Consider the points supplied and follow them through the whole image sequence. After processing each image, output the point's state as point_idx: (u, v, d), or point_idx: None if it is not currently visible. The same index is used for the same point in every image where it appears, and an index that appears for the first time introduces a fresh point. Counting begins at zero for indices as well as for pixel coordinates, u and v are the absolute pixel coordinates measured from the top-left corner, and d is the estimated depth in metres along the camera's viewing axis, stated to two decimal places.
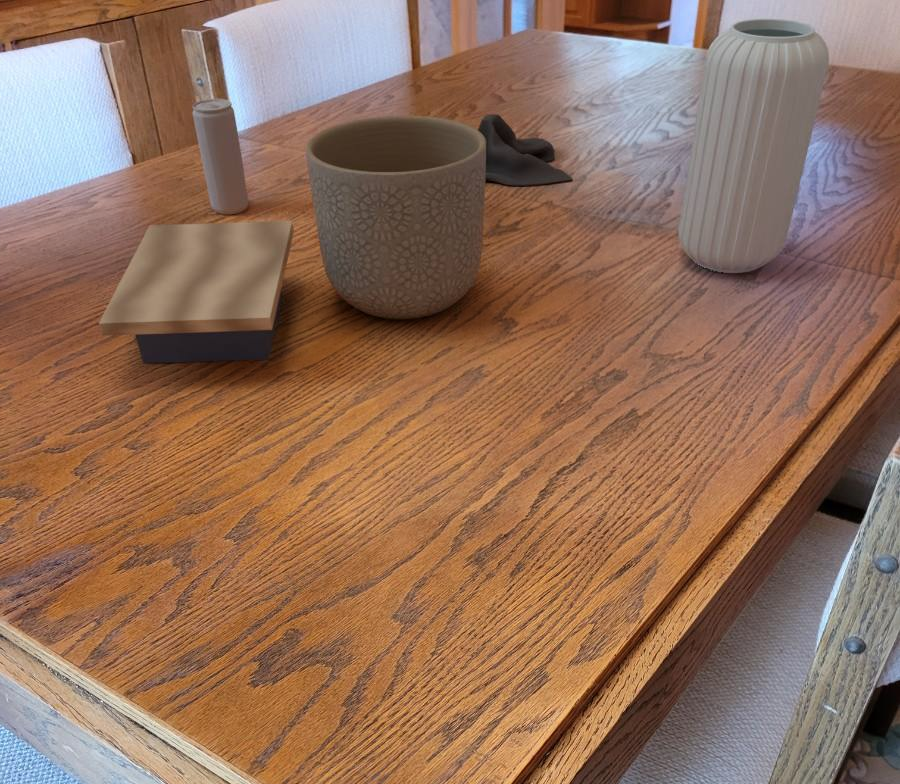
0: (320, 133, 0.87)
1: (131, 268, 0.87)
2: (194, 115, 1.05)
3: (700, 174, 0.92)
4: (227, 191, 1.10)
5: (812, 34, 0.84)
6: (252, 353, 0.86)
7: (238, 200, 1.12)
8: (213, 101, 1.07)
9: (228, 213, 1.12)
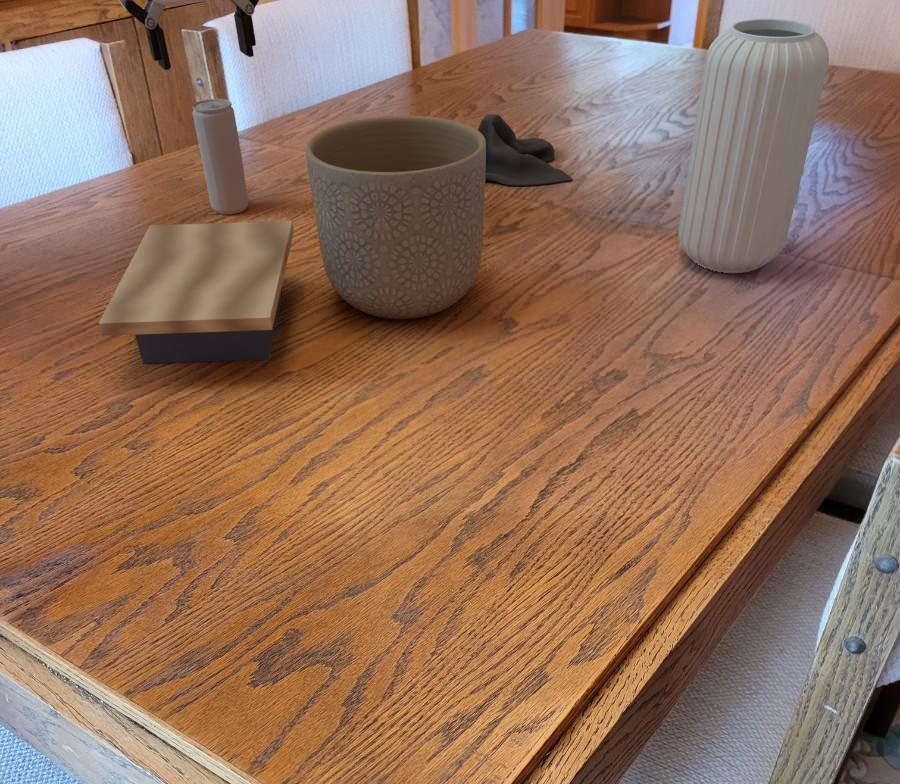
0: (320, 133, 0.87)
1: (131, 268, 0.87)
2: (194, 115, 1.05)
3: (700, 174, 0.92)
4: (227, 191, 1.10)
5: (812, 34, 0.84)
6: (252, 353, 0.86)
7: (238, 200, 1.12)
8: (213, 101, 1.07)
9: (228, 213, 1.12)
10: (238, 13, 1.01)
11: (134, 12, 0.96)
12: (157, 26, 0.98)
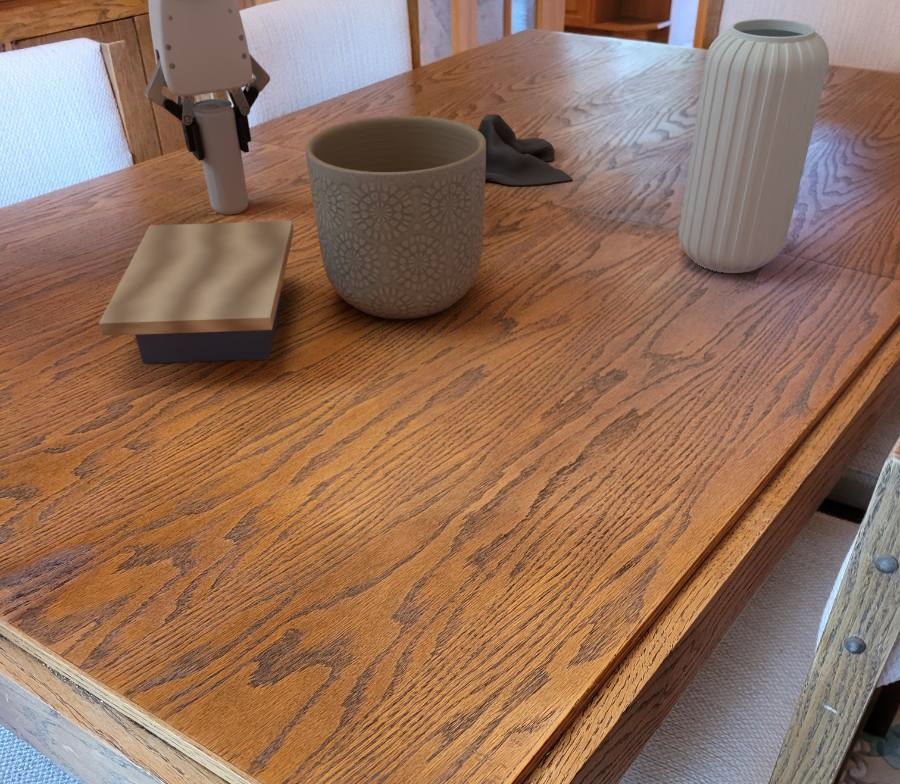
0: (320, 133, 0.87)
1: (131, 268, 0.87)
2: (194, 115, 1.05)
3: (700, 174, 0.92)
4: (227, 191, 1.10)
5: (812, 34, 0.84)
6: (252, 353, 0.86)
7: (238, 200, 1.12)
8: (213, 101, 1.07)
9: (228, 213, 1.12)
10: (235, 113, 1.08)
11: (172, 110, 1.03)
12: (193, 122, 1.05)
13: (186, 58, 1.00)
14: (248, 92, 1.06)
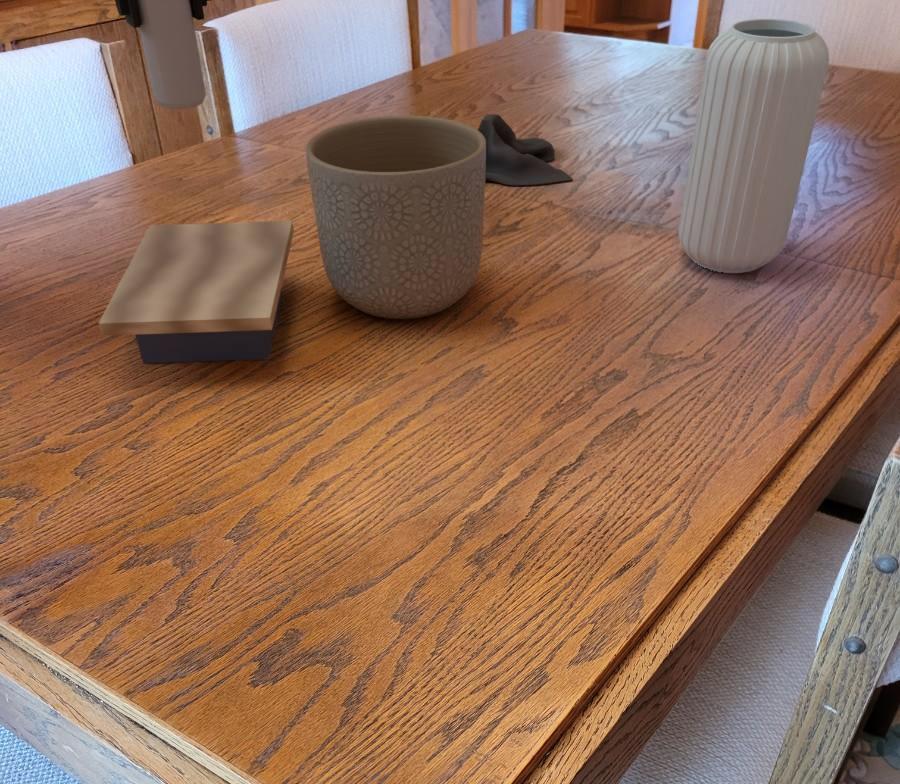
0: (320, 133, 0.87)
1: (131, 268, 0.87)
2: None
3: (700, 174, 0.92)
4: (174, 74, 0.80)
5: (812, 34, 0.84)
6: (252, 353, 0.86)
7: (190, 89, 0.82)
8: None
9: (177, 107, 0.83)
10: None
11: None
12: None
13: None
14: None
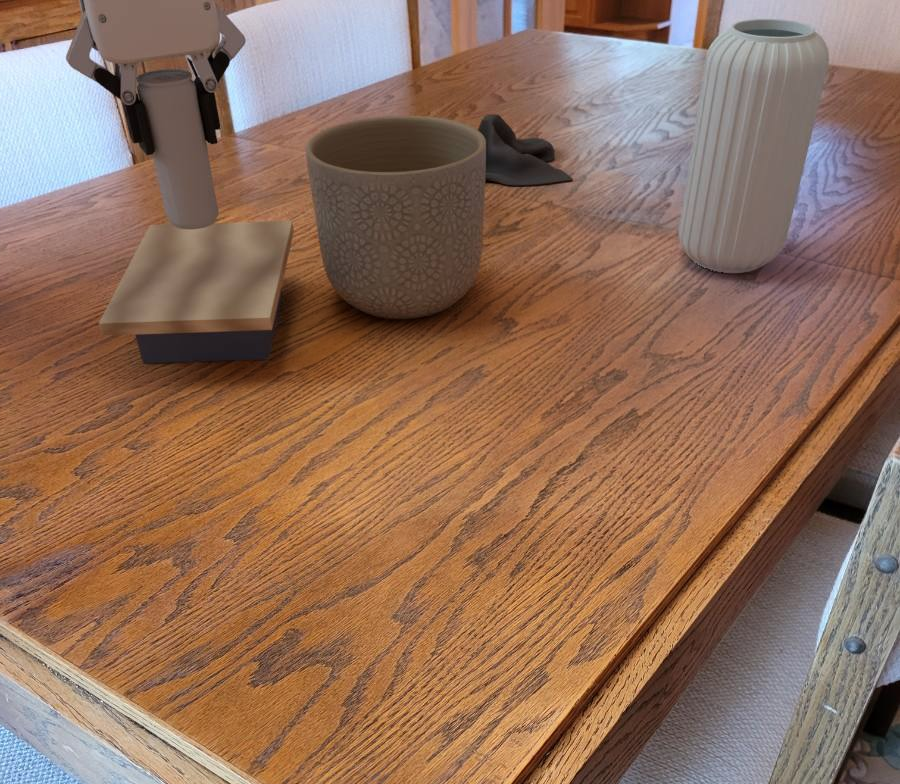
0: (320, 133, 0.87)
1: (131, 268, 0.87)
2: (139, 91, 0.75)
3: (700, 174, 0.92)
4: (187, 197, 0.80)
5: (812, 34, 0.84)
6: (252, 353, 0.86)
7: (203, 210, 0.81)
8: (167, 72, 0.77)
9: (190, 227, 0.82)
10: (197, 89, 0.77)
11: (106, 83, 0.73)
12: (137, 100, 0.75)
13: (122, 7, 0.69)
14: (215, 59, 0.76)
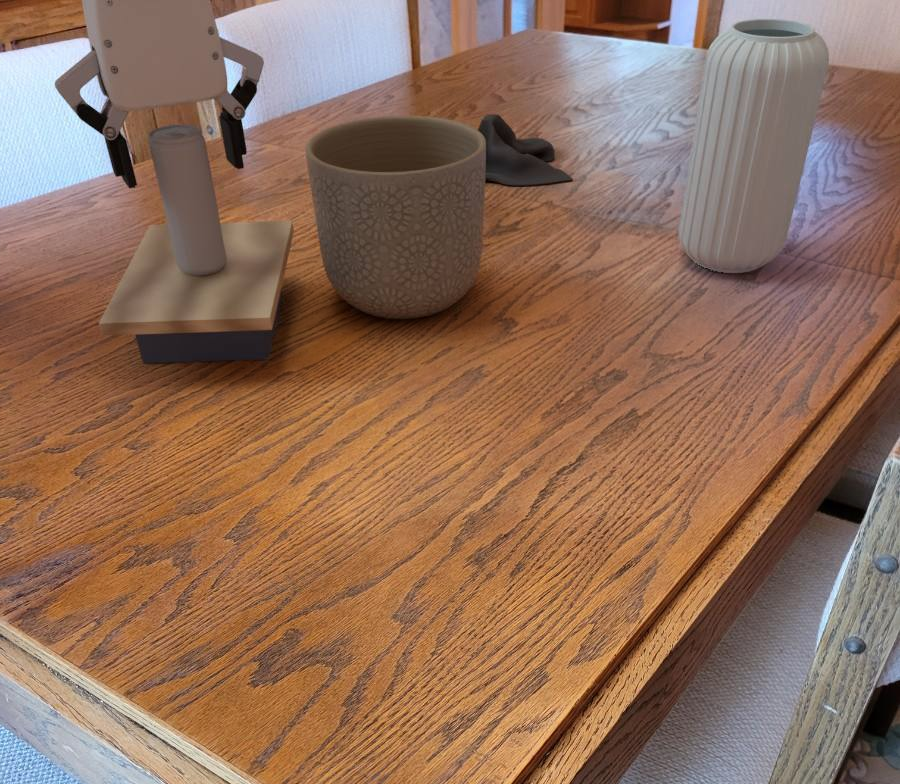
0: (320, 133, 0.87)
1: (131, 268, 0.87)
2: (151, 147, 0.78)
3: (700, 174, 0.92)
4: (196, 246, 0.83)
5: (812, 34, 0.84)
6: (252, 353, 0.86)
7: (211, 258, 0.84)
8: (177, 128, 0.80)
9: (199, 274, 0.85)
10: (224, 116, 0.80)
11: (88, 119, 0.74)
12: (119, 135, 0.76)
13: (133, 58, 0.72)
14: (243, 88, 0.78)
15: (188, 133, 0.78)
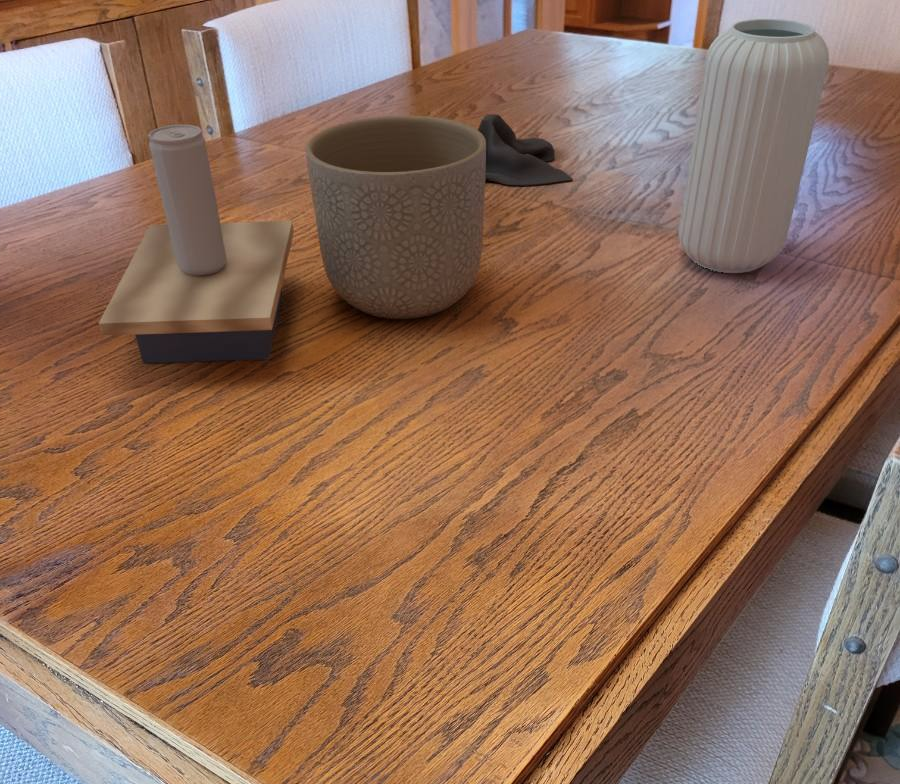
0: (320, 133, 0.87)
1: (131, 268, 0.87)
2: (151, 147, 0.78)
3: (700, 174, 0.92)
4: (196, 246, 0.83)
5: (812, 34, 0.84)
6: (252, 353, 0.86)
7: (211, 258, 0.84)
8: (177, 128, 0.80)
9: (199, 274, 0.85)
10: None
11: None
12: None
13: None
14: None
15: (188, 133, 0.78)
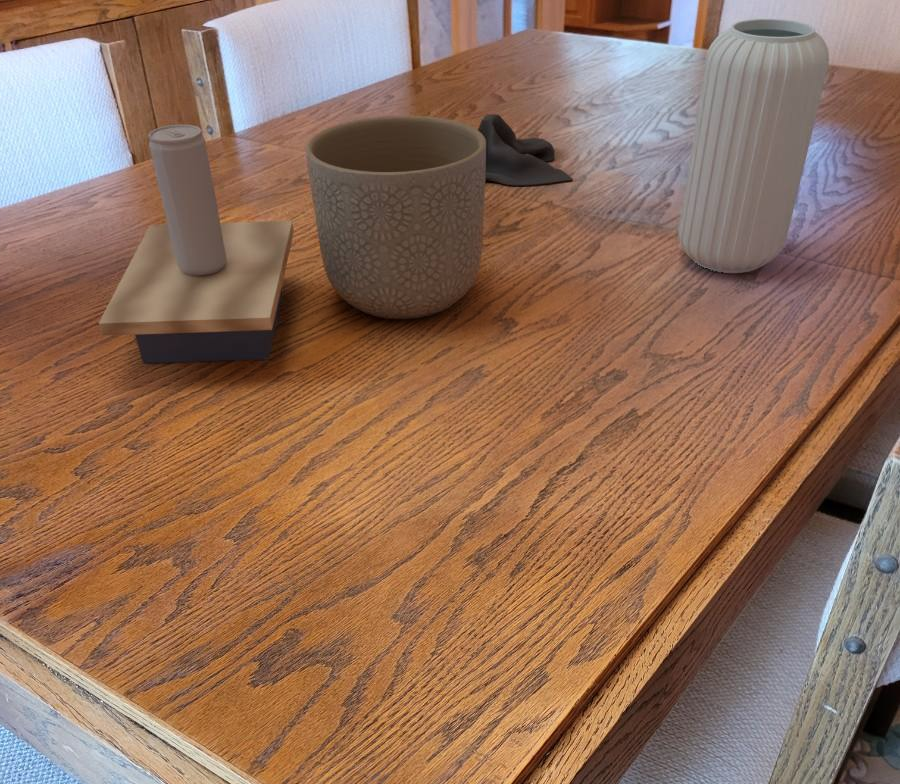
0: (320, 133, 0.87)
1: (131, 268, 0.87)
2: (151, 147, 0.78)
3: (700, 174, 0.92)
4: (196, 246, 0.83)
5: (812, 34, 0.84)
6: (252, 353, 0.86)
7: (211, 258, 0.84)
8: (177, 128, 0.80)
9: (199, 274, 0.85)
10: None
11: None
12: None
13: None
14: None
15: (188, 133, 0.78)
